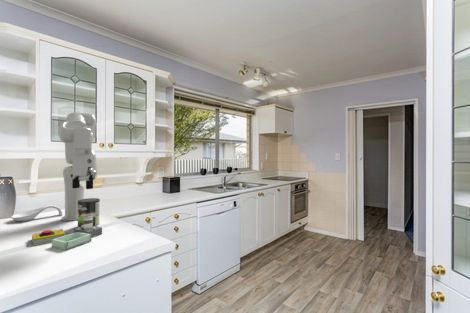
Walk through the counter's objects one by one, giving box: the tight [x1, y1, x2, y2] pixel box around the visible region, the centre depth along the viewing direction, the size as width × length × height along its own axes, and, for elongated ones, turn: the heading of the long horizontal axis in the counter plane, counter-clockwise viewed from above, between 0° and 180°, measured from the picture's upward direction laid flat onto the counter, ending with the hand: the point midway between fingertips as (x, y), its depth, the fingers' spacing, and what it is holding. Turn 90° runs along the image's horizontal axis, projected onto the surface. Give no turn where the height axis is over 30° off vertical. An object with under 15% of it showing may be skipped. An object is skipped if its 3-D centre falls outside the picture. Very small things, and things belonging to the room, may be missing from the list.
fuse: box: [84, 215, 93, 231], centre depth 116 cm, size 4×4×9 cm
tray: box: [51, 232, 92, 251], centre depth 104 cm, size 11×9×3 cm
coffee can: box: [77, 197, 101, 228], centre depth 131 cm, size 10×10×14 cm
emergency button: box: [27, 228, 69, 247], centre depth 110 cm, size 9×4×15 cm
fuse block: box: [73, 225, 103, 238], centre depth 116 cm, size 7×10×4 cm
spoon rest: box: [10, 204, 63, 223], centre depth 145 cm, size 24×12×7 cm, turn 136°
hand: (82, 188), depth 116 cm, fingers open, 9 cm apart
